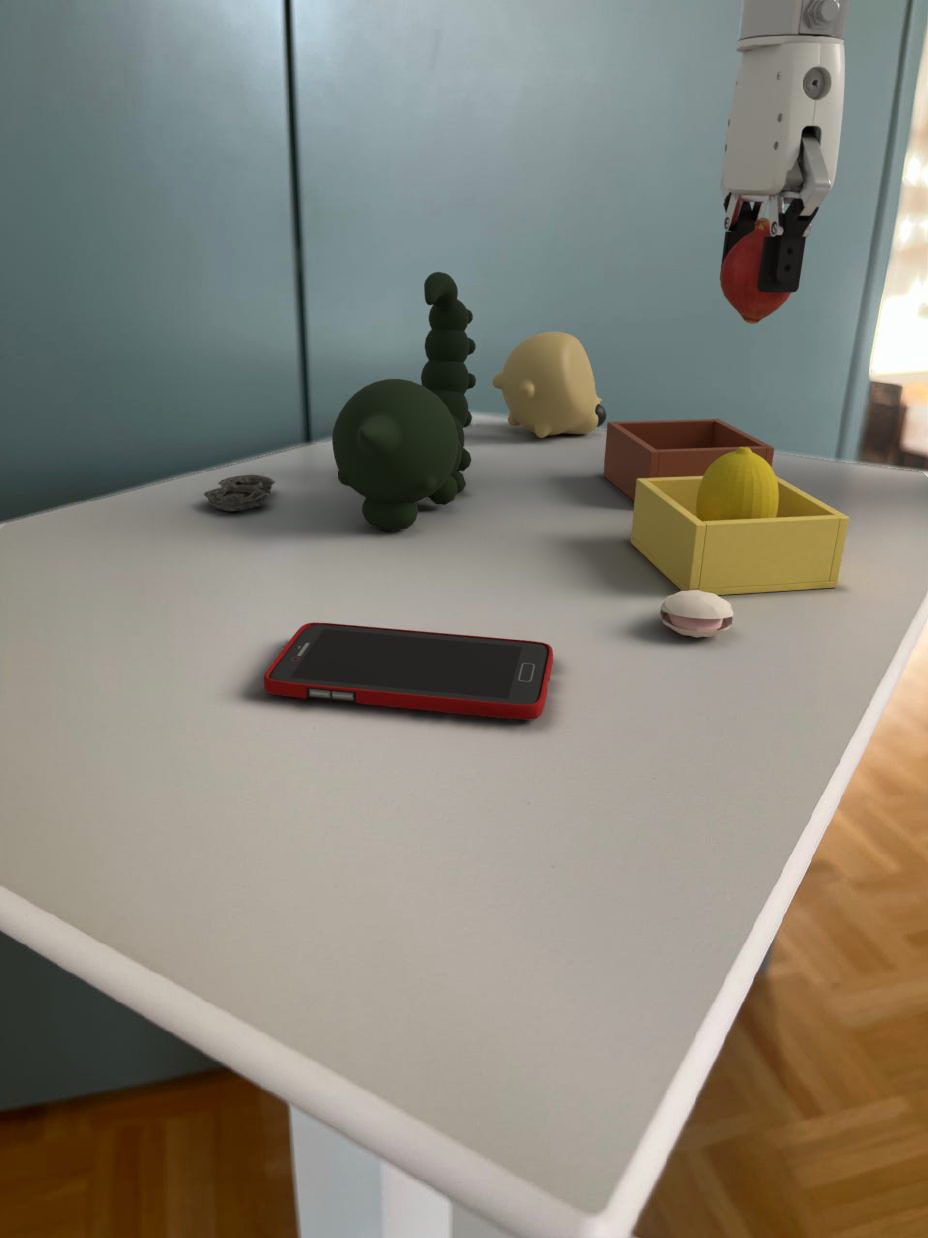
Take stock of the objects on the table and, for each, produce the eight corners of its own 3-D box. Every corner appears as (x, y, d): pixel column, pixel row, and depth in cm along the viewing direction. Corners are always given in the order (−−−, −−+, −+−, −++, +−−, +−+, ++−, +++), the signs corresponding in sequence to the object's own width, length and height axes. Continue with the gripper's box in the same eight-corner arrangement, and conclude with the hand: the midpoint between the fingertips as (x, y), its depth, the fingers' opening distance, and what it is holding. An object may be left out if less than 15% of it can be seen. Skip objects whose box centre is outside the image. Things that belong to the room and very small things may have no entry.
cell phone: (541, 725, 50) (542, 708, 49) (258, 696, 52) (257, 680, 51) (554, 658, 57) (555, 642, 56) (304, 635, 59) (303, 620, 58)
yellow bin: (762, 535, 77) (771, 472, 75) (836, 587, 68) (849, 517, 66) (630, 542, 75) (636, 478, 73) (687, 597, 66) (696, 524, 64)
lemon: (675, 548, 73) (687, 440, 70) (739, 540, 75) (754, 434, 71) (718, 574, 68) (733, 460, 65) (786, 565, 70) (804, 453, 67)
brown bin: (712, 471, 94) (718, 418, 92) (766, 505, 85) (774, 447, 83) (603, 475, 92) (607, 421, 90) (645, 511, 83) (651, 451, 81)
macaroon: (659, 641, 59) (663, 602, 58) (656, 608, 64) (660, 572, 63) (733, 647, 59) (739, 608, 58) (725, 613, 63) (730, 576, 62)
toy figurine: (399, 482, 95) (299, 545, 72) (403, 270, 89) (295, 264, 65) (497, 490, 93) (426, 558, 70) (508, 274, 87) (434, 270, 64)
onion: (743, 316, 85) (756, 215, 82) (803, 324, 81) (819, 218, 78) (701, 321, 82) (713, 216, 78) (761, 330, 78) (776, 219, 74)
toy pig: (574, 476, 105) (642, 402, 105) (515, 398, 97) (588, 318, 98) (523, 451, 112) (586, 383, 113) (465, 377, 105) (532, 303, 105)
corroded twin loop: (283, 486, 86) (282, 475, 86) (258, 515, 79) (257, 502, 79) (226, 484, 87) (225, 472, 86) (196, 512, 79) (195, 500, 79)
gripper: (908, 13, 66) (859, 299, 73) (781, 43, 81) (750, 277, 89) (804, 7, 64) (764, 299, 72) (695, 38, 80) (671, 277, 87)
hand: (757, 284), depth 80 cm, fingers closed on onion, 5 cm apart
